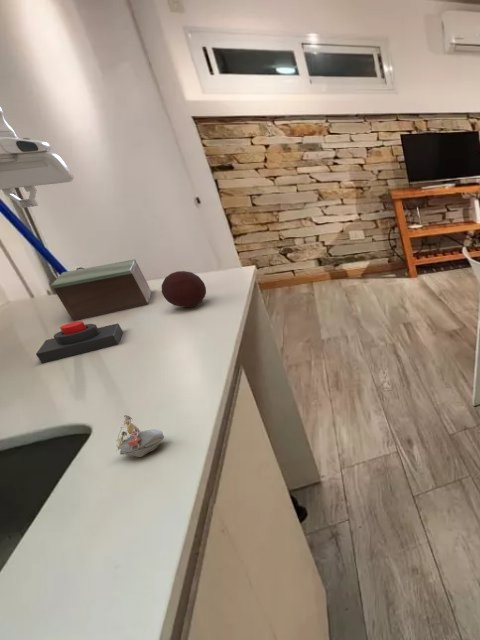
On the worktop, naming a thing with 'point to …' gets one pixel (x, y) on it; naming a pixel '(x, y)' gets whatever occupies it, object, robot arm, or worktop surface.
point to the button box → (79, 342)
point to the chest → (105, 295)
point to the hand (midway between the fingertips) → (29, 206)
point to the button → (73, 327)
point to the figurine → (138, 440)
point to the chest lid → (94, 273)
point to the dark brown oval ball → (183, 289)
